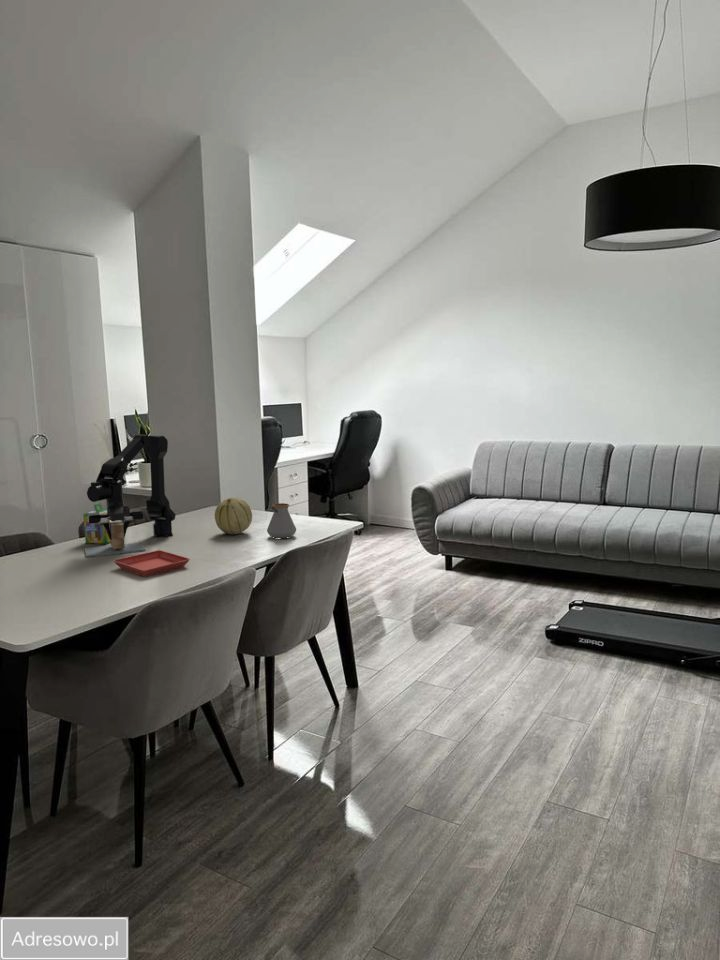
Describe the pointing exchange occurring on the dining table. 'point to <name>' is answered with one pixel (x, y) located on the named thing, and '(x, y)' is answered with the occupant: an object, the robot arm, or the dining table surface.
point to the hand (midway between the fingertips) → (117, 539)
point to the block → (117, 534)
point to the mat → (110, 551)
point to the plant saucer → (152, 562)
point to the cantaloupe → (233, 516)
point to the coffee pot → (281, 522)
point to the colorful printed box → (96, 528)
